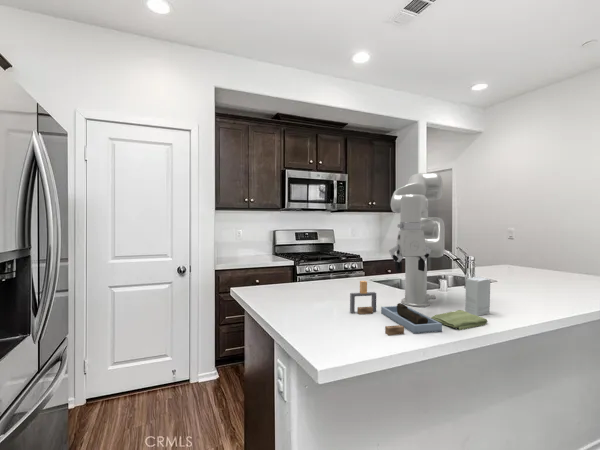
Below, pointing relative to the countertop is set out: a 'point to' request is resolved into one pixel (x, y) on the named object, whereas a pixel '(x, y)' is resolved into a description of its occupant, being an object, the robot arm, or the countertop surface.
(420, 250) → the robot arm
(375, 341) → the countertop surface
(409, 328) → the tray
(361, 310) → the cradle
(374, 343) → the countertop surface
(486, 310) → the skincare box
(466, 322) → the washcloth
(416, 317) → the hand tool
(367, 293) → the gray arch frame
